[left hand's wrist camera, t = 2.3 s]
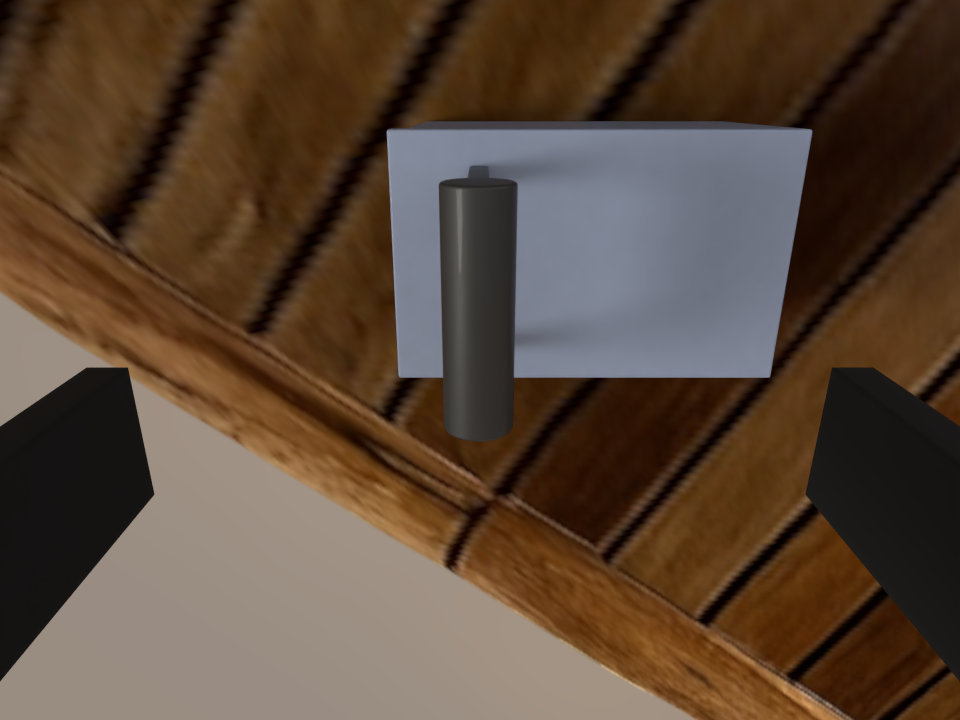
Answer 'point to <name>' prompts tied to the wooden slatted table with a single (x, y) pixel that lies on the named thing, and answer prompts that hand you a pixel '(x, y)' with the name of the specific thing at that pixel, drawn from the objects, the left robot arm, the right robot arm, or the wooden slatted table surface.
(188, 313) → the wooden slatted table surface
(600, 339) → the lid
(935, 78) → the wooden slatted table surface
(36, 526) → the left robot arm
